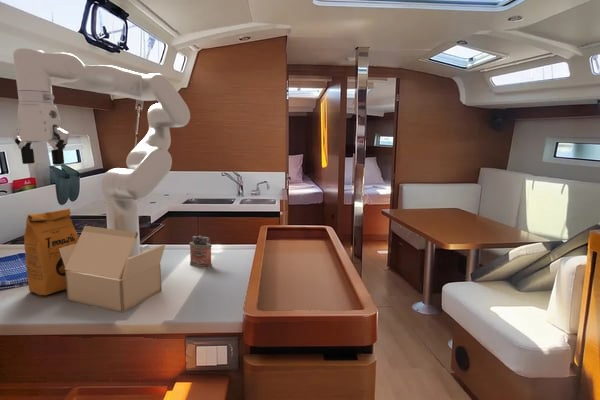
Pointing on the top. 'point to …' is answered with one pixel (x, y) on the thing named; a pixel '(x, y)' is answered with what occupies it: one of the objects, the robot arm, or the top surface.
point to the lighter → (200, 252)
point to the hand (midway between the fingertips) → (43, 164)
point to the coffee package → (47, 250)
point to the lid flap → (101, 252)
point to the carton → (116, 282)
